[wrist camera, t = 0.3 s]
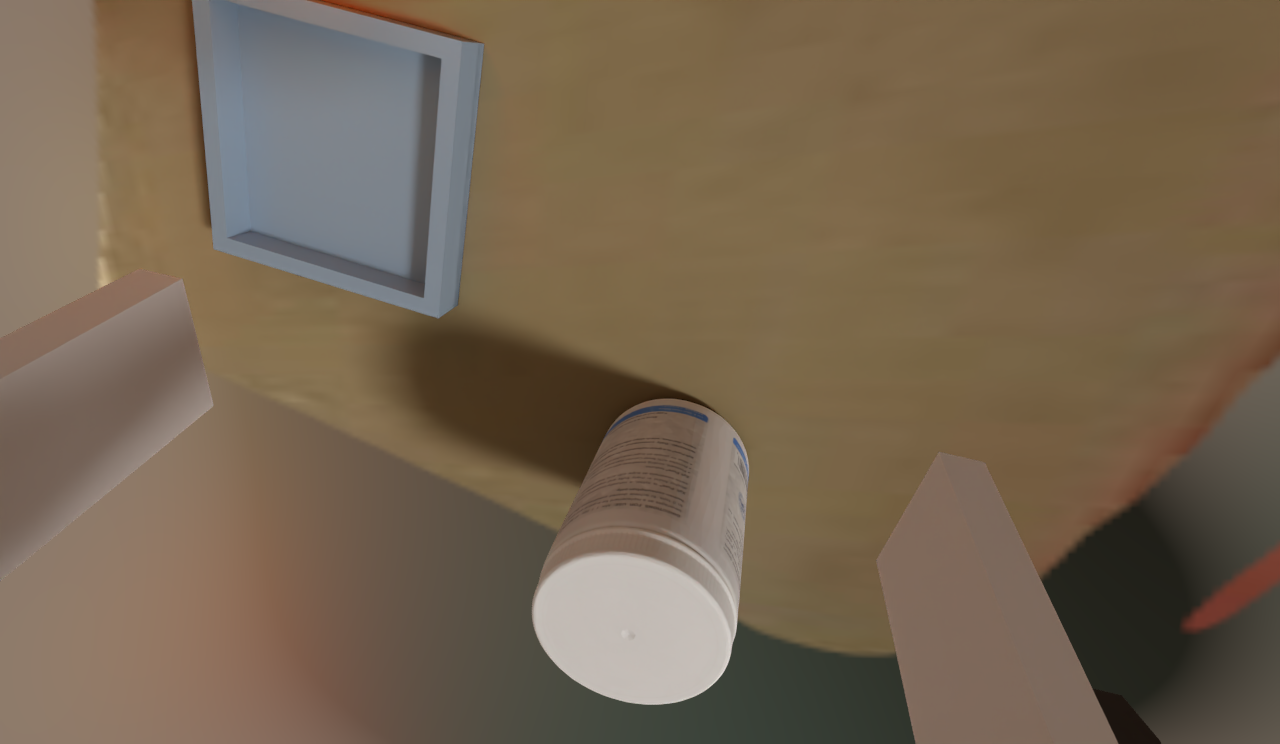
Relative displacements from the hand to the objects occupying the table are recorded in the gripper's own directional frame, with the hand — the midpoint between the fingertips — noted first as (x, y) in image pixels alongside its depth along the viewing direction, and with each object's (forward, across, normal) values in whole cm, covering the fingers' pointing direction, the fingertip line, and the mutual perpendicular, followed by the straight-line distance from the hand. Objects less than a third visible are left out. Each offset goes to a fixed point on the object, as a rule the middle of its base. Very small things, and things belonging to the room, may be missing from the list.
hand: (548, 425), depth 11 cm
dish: (+27, -19, -6) cm, 33 cm away
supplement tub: (+23, +4, -20) cm, 31 cm away
